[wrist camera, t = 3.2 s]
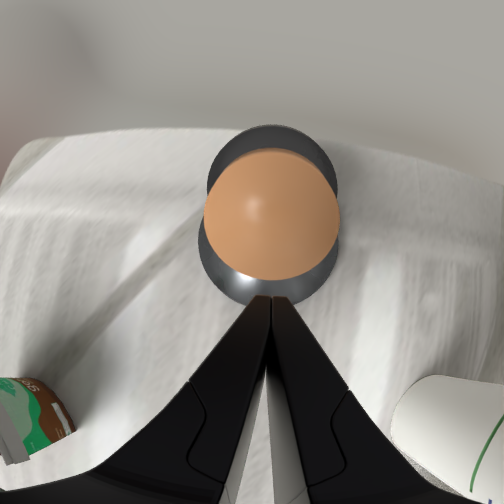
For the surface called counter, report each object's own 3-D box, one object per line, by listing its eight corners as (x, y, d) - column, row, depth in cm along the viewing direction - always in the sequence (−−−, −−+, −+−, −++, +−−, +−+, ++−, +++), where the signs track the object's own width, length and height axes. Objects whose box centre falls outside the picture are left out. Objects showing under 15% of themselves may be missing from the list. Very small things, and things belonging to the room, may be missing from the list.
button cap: (321, 287, 15) (354, 265, 10) (211, 280, 15) (185, 253, 10) (322, 193, 17) (346, 135, 11) (222, 186, 17) (207, 127, 11)
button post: (333, 312, 20) (377, 302, 12) (193, 303, 20) (154, 287, 12) (333, 185, 22) (362, 122, 14) (210, 177, 23) (189, 111, 15)
